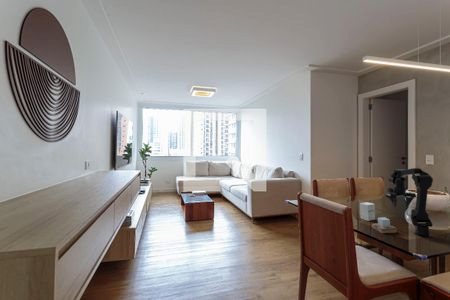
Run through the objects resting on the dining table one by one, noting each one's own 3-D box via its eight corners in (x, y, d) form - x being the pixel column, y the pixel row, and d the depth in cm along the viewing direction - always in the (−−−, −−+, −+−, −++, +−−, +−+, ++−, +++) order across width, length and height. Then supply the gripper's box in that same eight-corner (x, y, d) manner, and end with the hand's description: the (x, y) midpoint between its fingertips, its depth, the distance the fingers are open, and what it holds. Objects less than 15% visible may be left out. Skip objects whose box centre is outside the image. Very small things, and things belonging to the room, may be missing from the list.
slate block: (390, 226, 153) (389, 219, 153) (382, 227, 153) (382, 220, 153) (385, 224, 158) (384, 217, 158) (377, 224, 158) (377, 217, 158)
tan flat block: (396, 232, 151) (396, 228, 151) (381, 233, 151) (381, 228, 151) (386, 227, 161) (386, 222, 161) (372, 227, 161) (372, 223, 161)
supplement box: (368, 221, 174) (367, 205, 174) (360, 218, 181) (359, 202, 181) (375, 219, 176) (374, 203, 176) (367, 217, 183) (366, 201, 183)
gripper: (404, 183, 174) (404, 203, 174) (380, 184, 174) (381, 204, 174) (416, 186, 163) (417, 207, 163) (390, 187, 163) (391, 208, 163)
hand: (401, 206), depth 166 cm, fingers open, 9 cm apart
